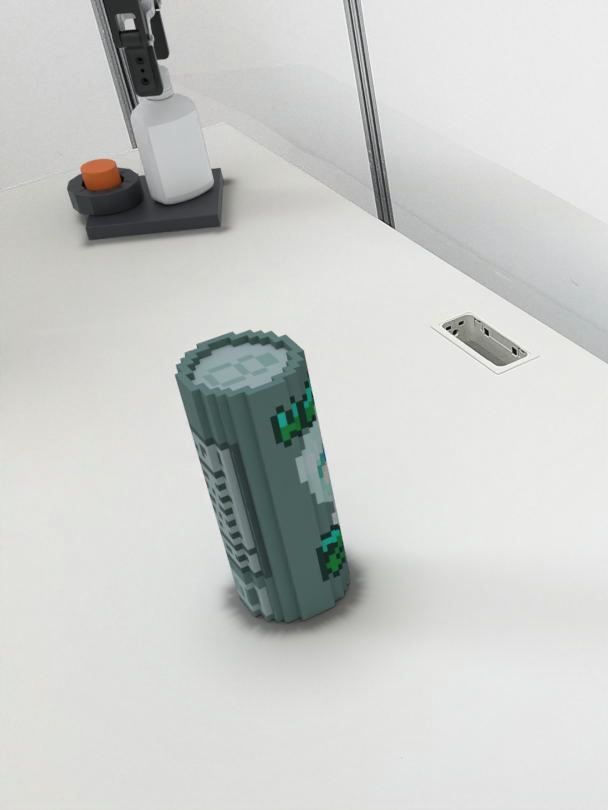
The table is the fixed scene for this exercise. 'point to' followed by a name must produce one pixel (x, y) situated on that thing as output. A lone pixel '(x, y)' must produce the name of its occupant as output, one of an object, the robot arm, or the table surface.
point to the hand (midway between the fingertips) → (154, 76)
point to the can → (266, 471)
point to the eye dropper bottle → (171, 145)
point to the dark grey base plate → (142, 208)
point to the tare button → (100, 174)
